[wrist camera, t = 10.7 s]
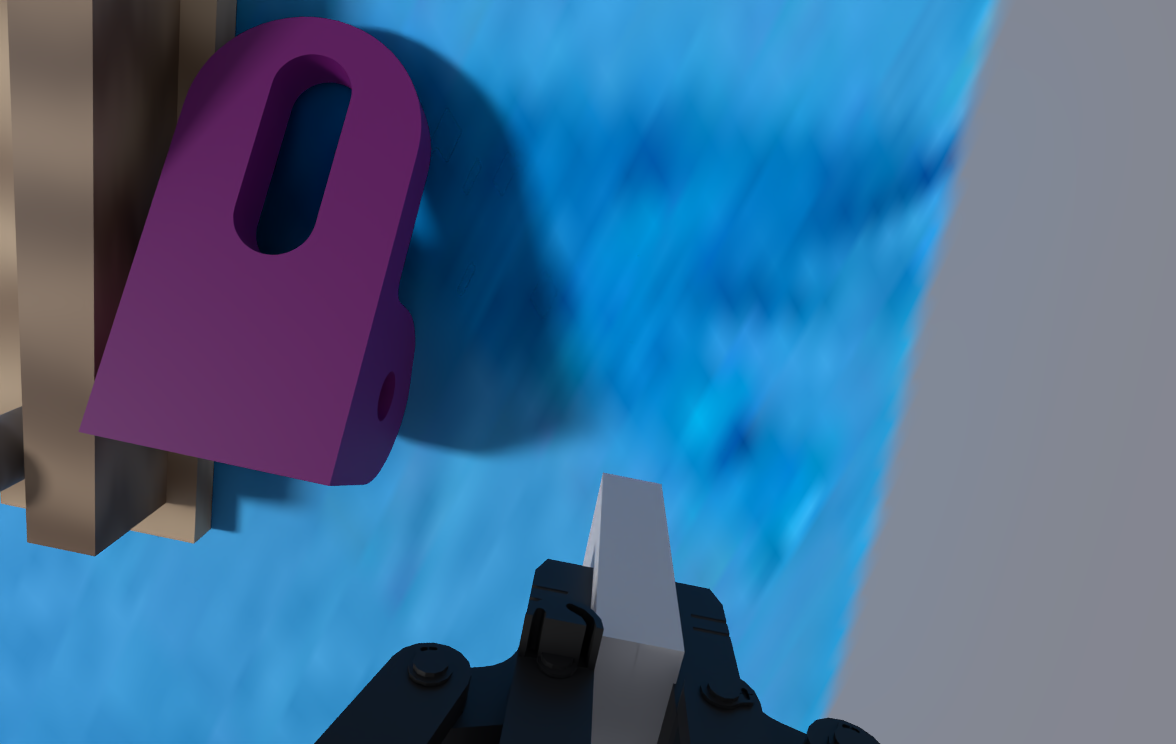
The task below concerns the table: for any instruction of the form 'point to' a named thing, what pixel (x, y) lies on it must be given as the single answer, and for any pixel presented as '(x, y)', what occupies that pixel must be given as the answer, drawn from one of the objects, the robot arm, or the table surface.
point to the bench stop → (87, 253)
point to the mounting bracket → (273, 271)
